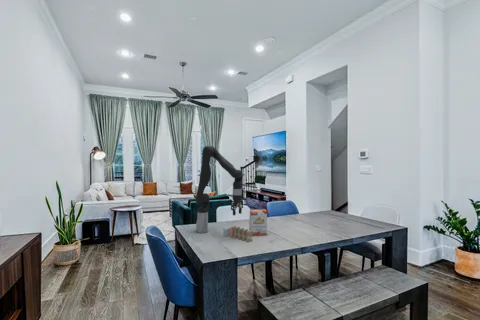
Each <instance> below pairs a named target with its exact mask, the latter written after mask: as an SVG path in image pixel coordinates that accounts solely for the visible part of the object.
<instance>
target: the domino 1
mask: <svg viewBox="0 0 480 320" xmlns="http://www.w3.org/2000/svg"><path fill="white" fill-rule="evenodd" d="M230 227H231V228H230V236H229V237H230V238H234V228H237V226H235V225H234V226H230Z"/></svg>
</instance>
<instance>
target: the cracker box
mask: <svg viewBox="0 0 480 320" xmlns="http://www.w3.org/2000/svg"><path fill="white" fill-rule="evenodd" d="M248 222H249V229H248V231H250V230H252V237H253V236H255V237H256V236H267V233H268V232H267V229H268V226H267V225H268V210H267V209H249V221H248Z"/></svg>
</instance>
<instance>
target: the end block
mask: <svg viewBox="0 0 480 320" xmlns="http://www.w3.org/2000/svg"><path fill="white" fill-rule="evenodd" d="M231 227H232V226H229V227H224V228H223V229H222V231H223V232H222V233H223V234H222V236H223V237H226V238H227V237H230V228H231Z"/></svg>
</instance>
